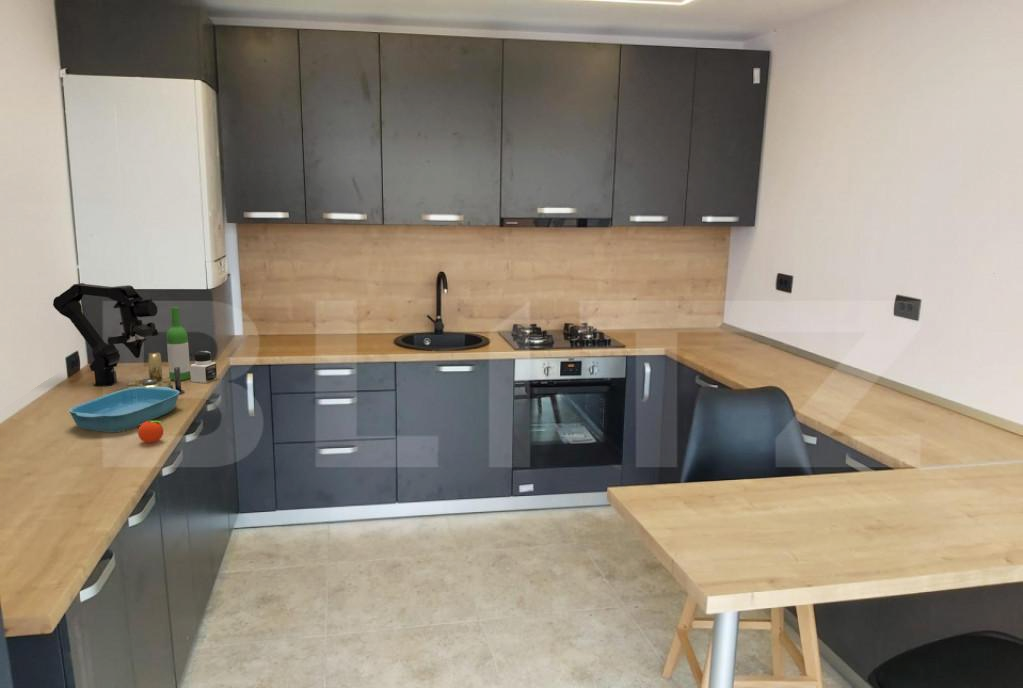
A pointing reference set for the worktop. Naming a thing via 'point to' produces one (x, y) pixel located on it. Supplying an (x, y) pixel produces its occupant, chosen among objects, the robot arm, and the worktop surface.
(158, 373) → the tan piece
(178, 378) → the stop post
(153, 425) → the tomato
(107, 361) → the robot arm
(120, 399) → the casserole dish
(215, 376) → the medicine bottle
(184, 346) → the wine bottle
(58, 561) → the worktop surface
